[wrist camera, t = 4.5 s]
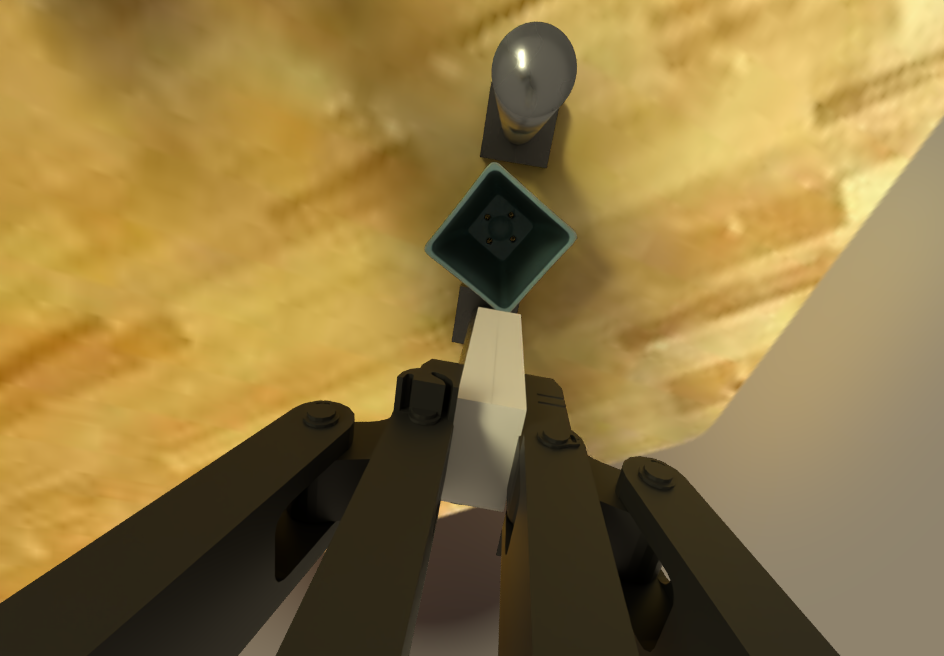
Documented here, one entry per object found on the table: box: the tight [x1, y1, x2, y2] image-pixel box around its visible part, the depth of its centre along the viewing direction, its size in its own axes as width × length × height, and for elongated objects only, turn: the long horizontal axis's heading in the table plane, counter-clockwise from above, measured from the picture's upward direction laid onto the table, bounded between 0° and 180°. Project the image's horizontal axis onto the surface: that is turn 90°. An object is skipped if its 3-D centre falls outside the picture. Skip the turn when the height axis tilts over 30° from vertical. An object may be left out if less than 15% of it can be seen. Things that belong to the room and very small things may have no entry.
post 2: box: [480, 22, 577, 168], centre depth 28 cm, size 6×6×26 cm
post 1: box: [450, 282, 519, 505], centre depth 34 cm, size 6×6×26 cm
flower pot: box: [425, 162, 577, 312], centre depth 39 cm, size 9×9×9 cm
